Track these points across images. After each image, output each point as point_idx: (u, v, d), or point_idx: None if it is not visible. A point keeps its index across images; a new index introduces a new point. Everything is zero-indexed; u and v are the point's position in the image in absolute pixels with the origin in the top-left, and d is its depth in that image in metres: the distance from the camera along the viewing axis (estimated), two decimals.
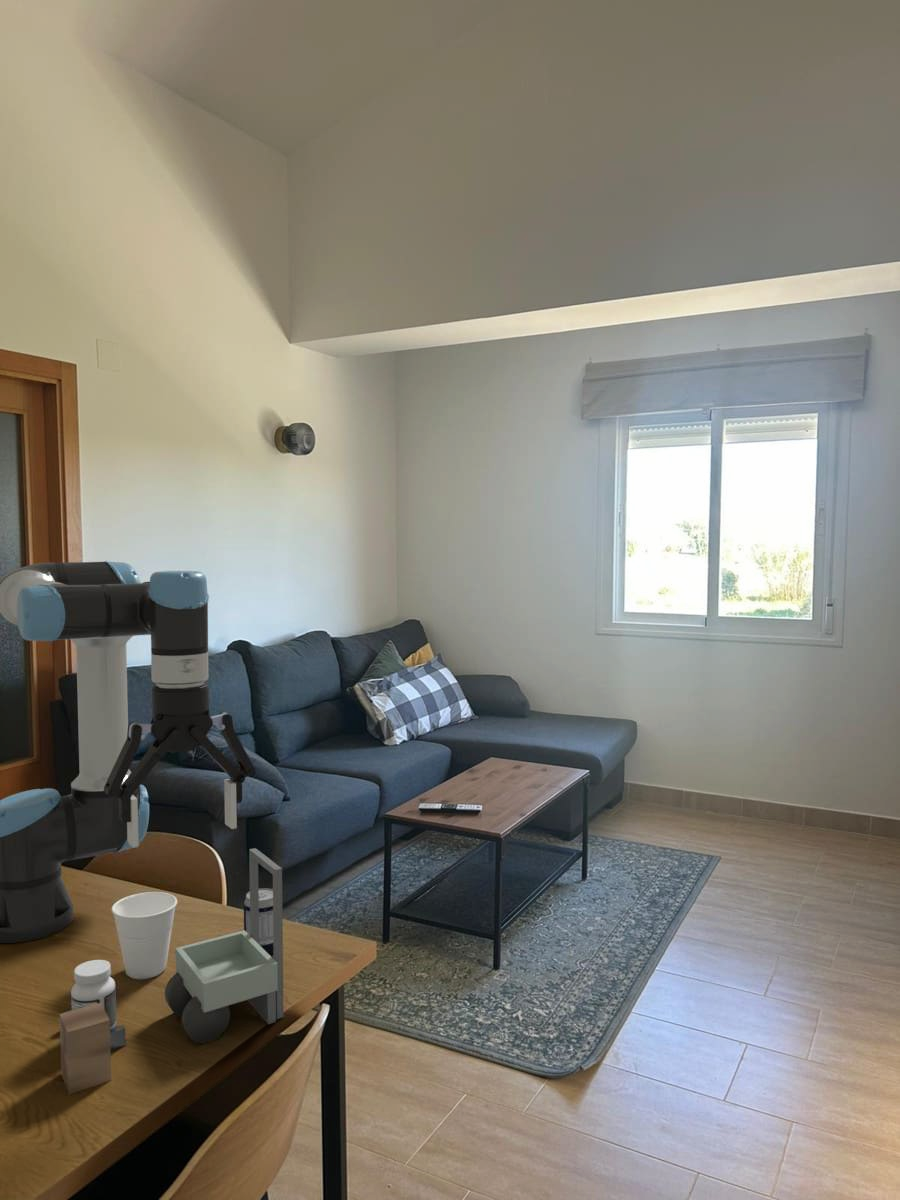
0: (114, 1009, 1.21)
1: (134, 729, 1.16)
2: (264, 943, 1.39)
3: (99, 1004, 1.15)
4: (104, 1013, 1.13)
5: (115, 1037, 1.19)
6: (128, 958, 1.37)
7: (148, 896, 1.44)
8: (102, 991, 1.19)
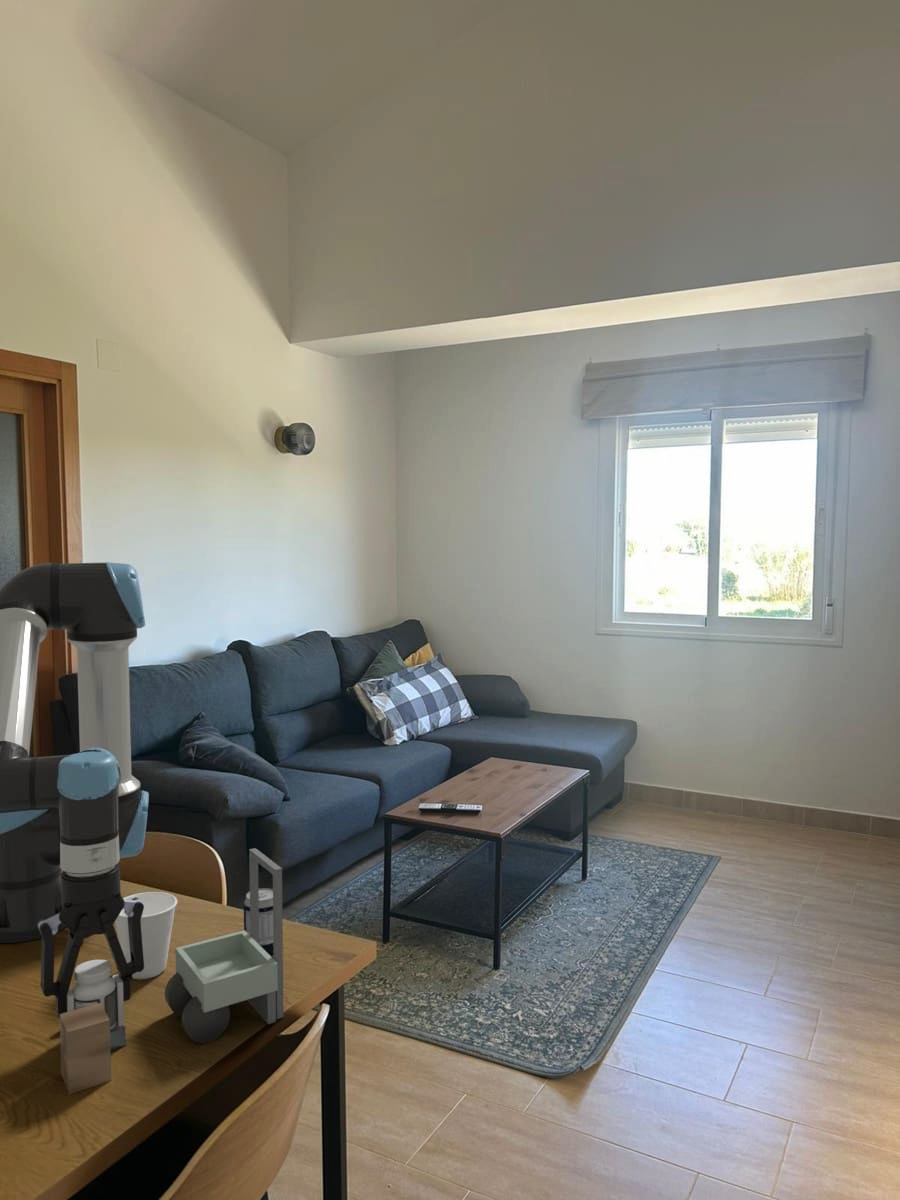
0: (114, 1009, 1.21)
1: (42, 930, 1.16)
2: (264, 943, 1.39)
3: (99, 1004, 1.15)
4: (104, 1013, 1.13)
5: (115, 1037, 1.19)
6: (128, 958, 1.37)
7: (148, 896, 1.44)
8: (103, 991, 1.19)
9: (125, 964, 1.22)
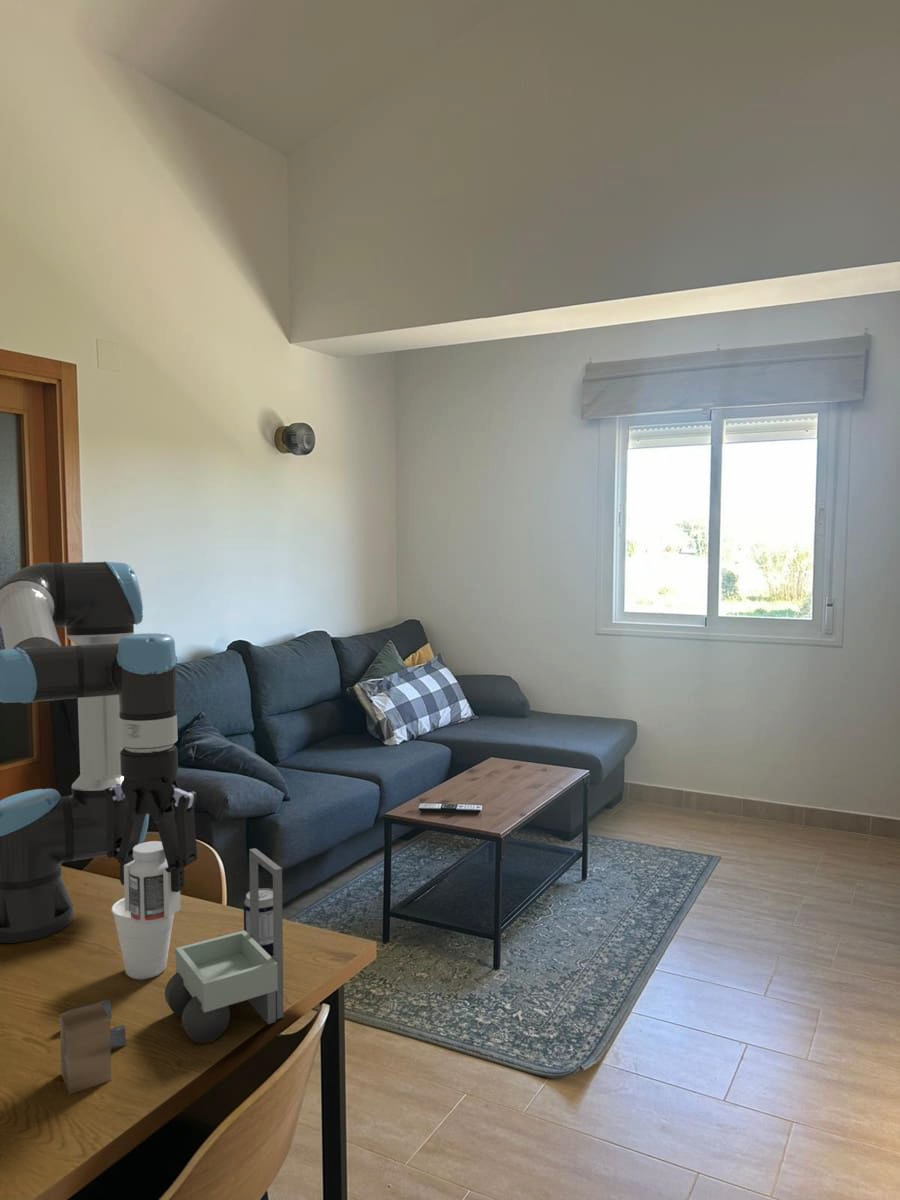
0: (159, 895, 1.20)
1: None
2: (264, 943, 1.39)
3: (99, 1004, 1.15)
4: (104, 1013, 1.13)
5: (115, 1037, 1.19)
6: (128, 958, 1.37)
7: None
8: (143, 871, 1.19)
9: (170, 853, 1.19)
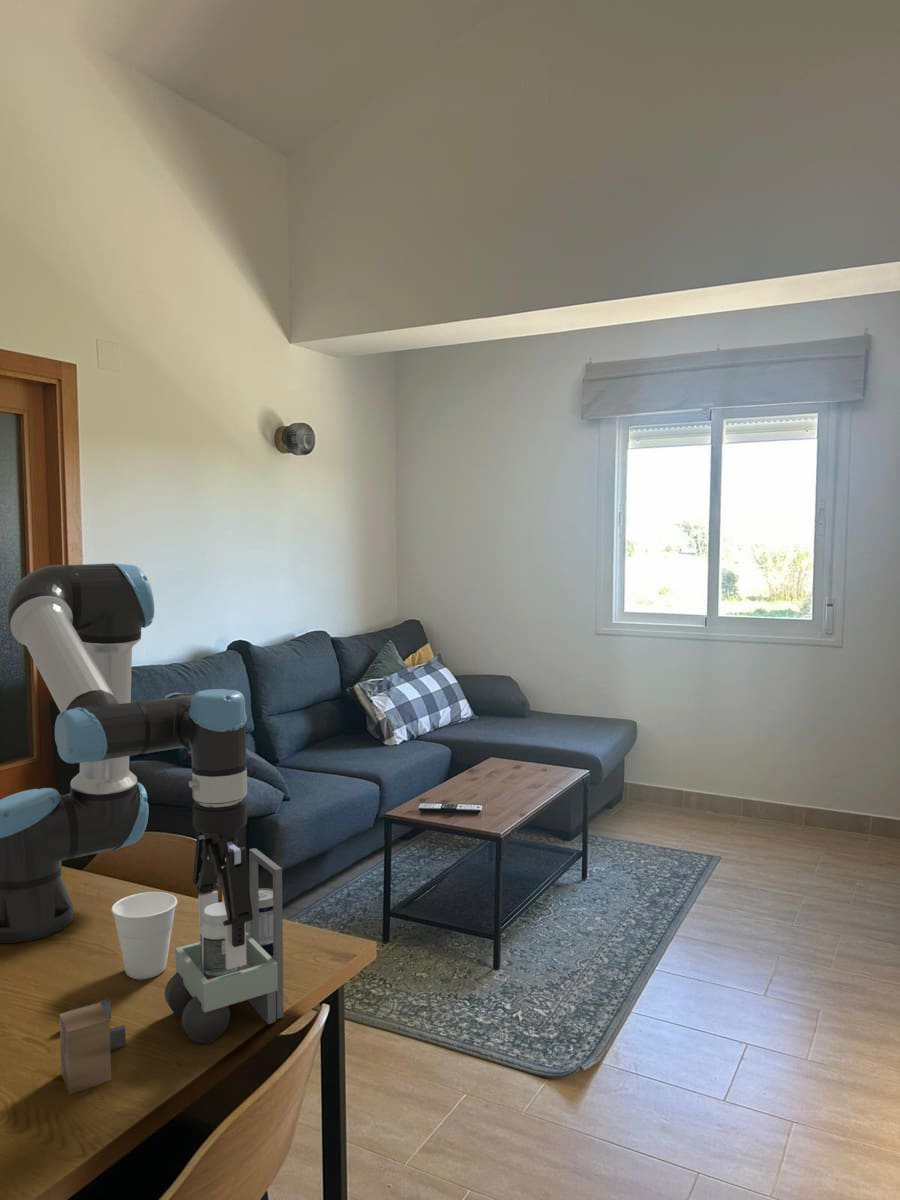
0: (215, 958, 1.23)
1: None
2: (264, 943, 1.39)
3: (99, 1004, 1.15)
4: (104, 1013, 1.13)
5: (115, 1037, 1.19)
6: (128, 958, 1.37)
7: (148, 896, 1.44)
8: (204, 931, 1.24)
9: (227, 907, 1.20)
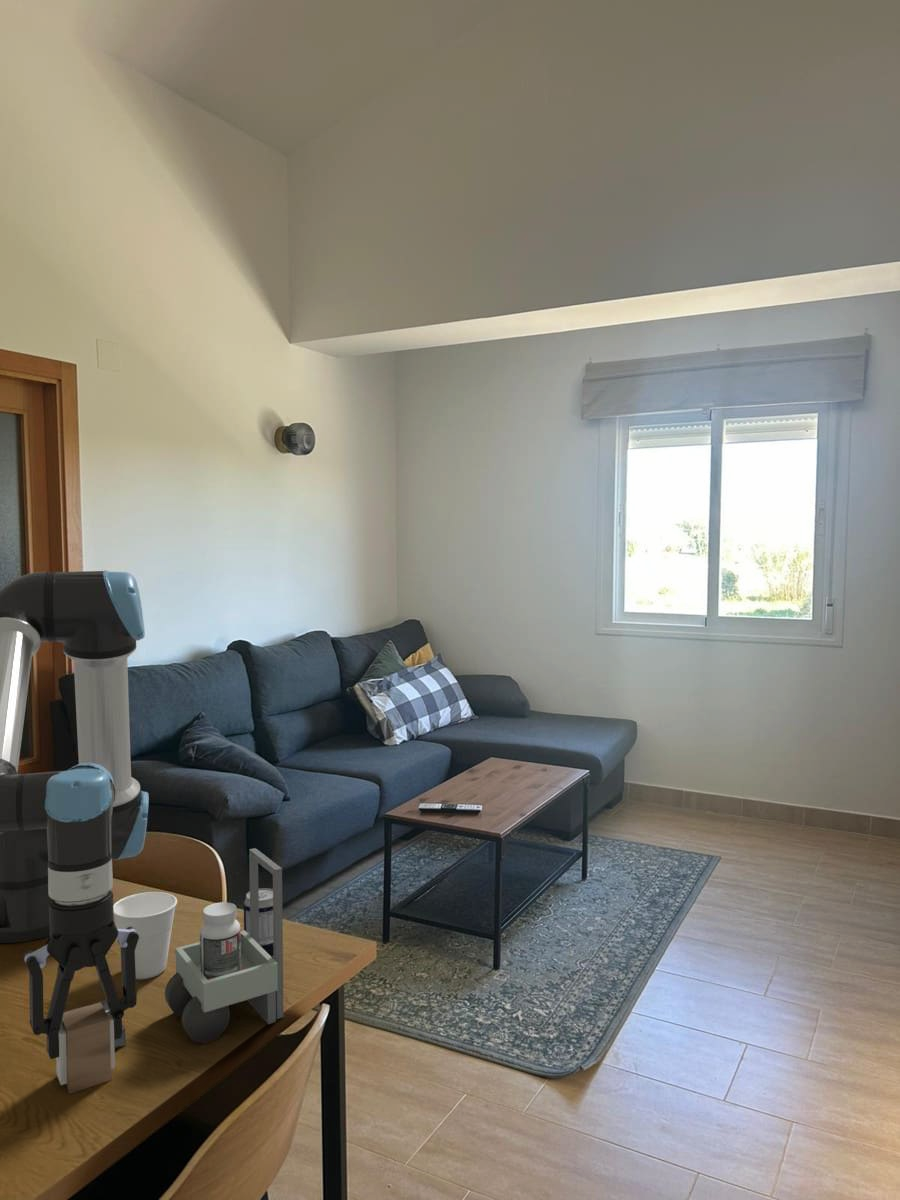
0: (215, 958, 1.23)
1: (29, 964, 1.07)
2: (264, 943, 1.39)
3: (99, 1004, 1.15)
4: (104, 1013, 1.13)
5: None
6: None
7: (148, 896, 1.44)
8: (203, 932, 1.24)
9: (116, 1000, 1.13)
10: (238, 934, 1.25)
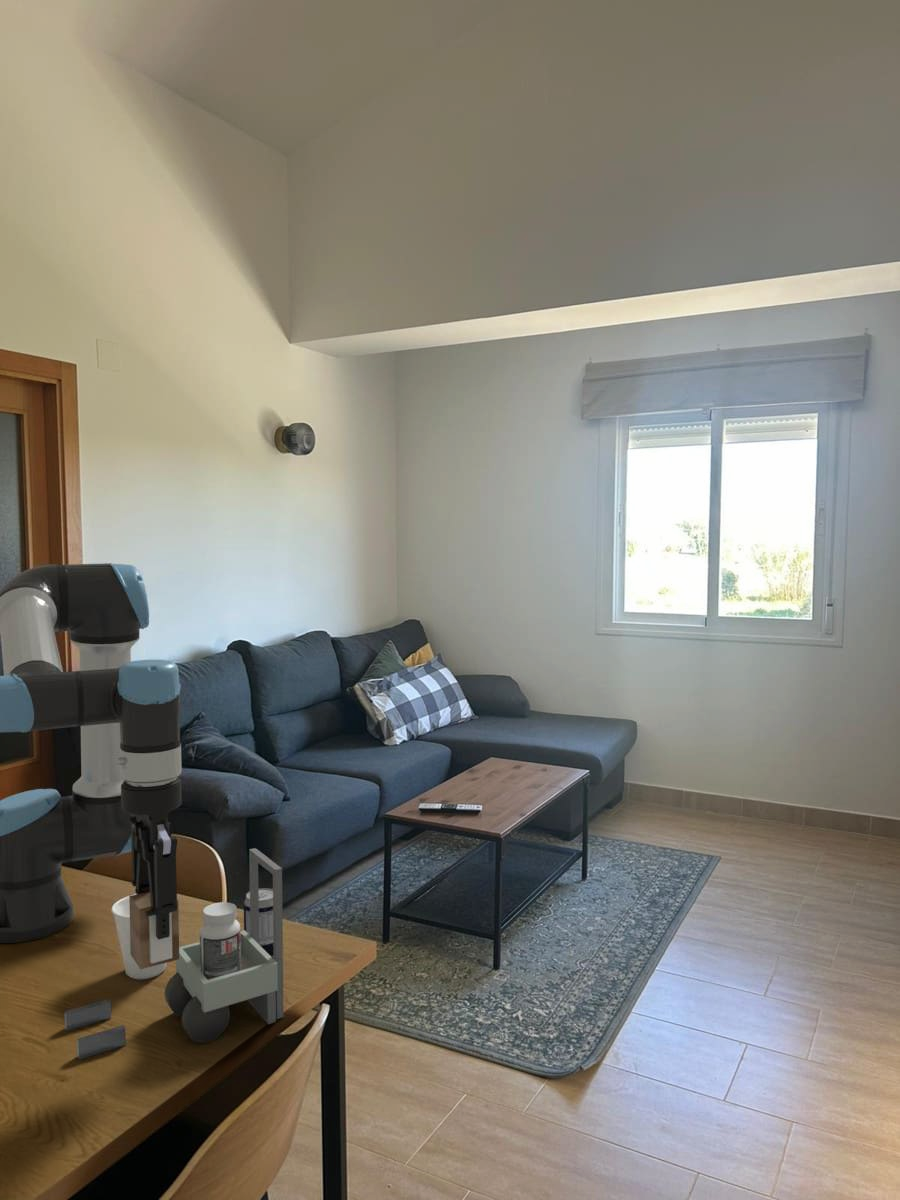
0: (214, 958, 1.23)
1: None
2: (264, 943, 1.39)
3: None
4: None
5: (115, 1037, 1.19)
6: (128, 958, 1.37)
7: None
8: (203, 932, 1.24)
9: (152, 897, 1.12)
10: (238, 934, 1.25)
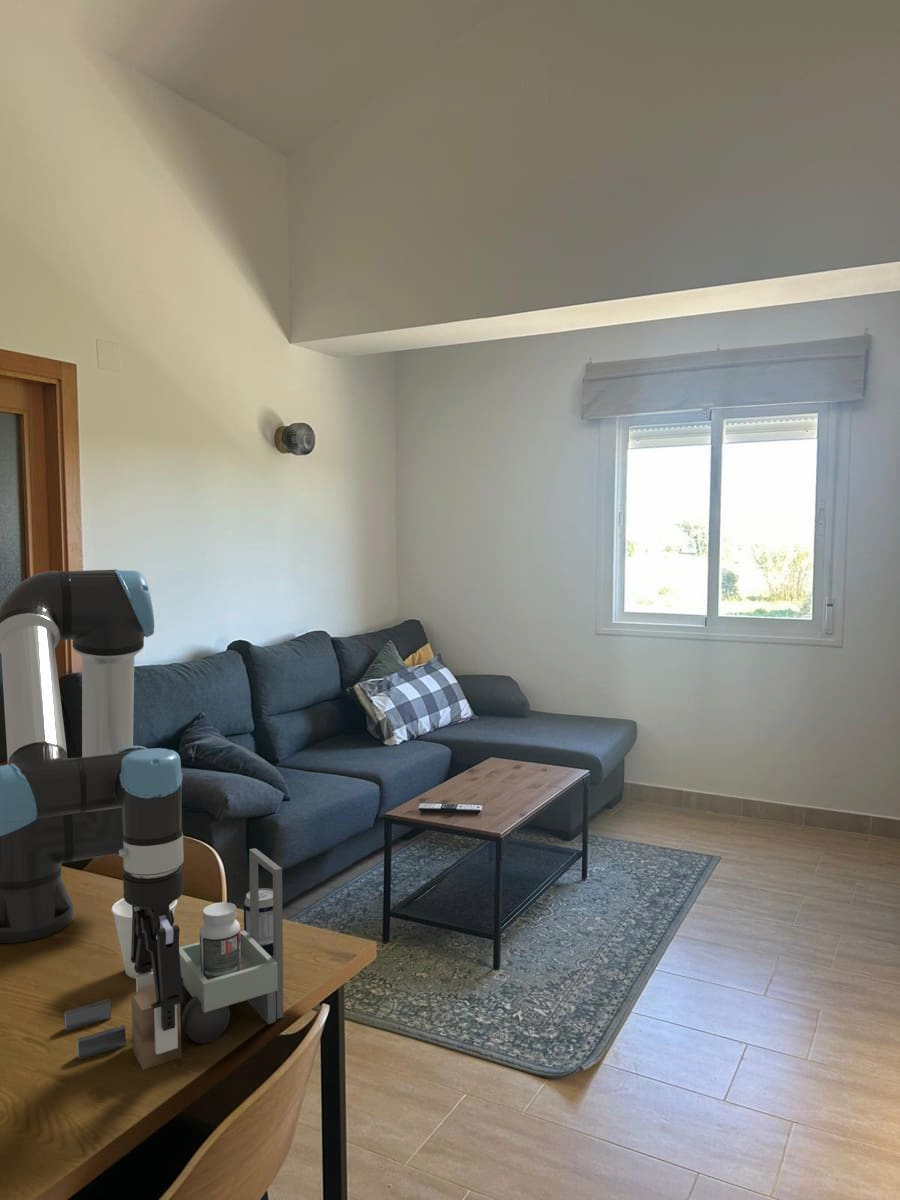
0: (214, 958, 1.23)
1: None
2: (264, 943, 1.39)
3: None
4: None
5: (115, 1037, 1.19)
6: (128, 958, 1.37)
7: None
8: (203, 932, 1.24)
9: (157, 988, 1.12)
10: (238, 934, 1.25)
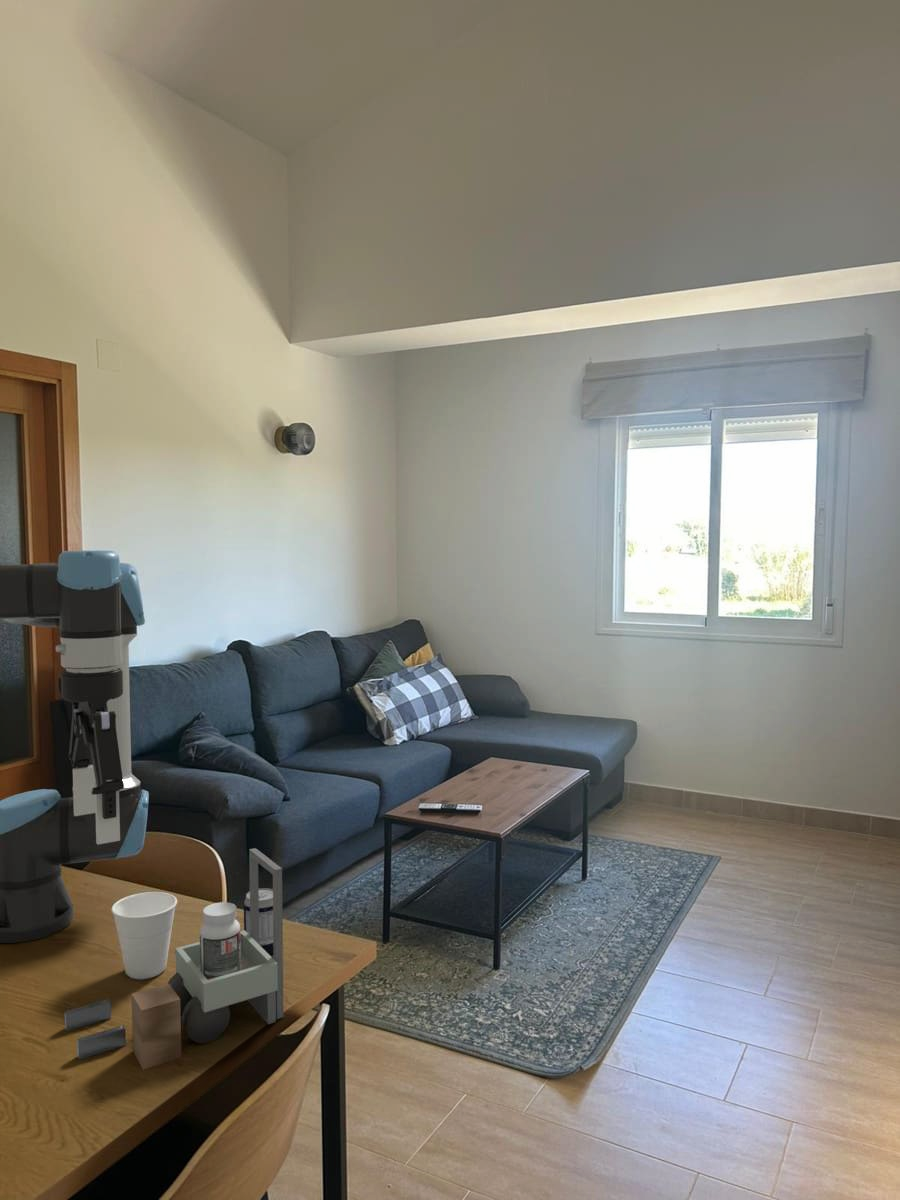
0: (214, 958, 1.23)
1: (72, 702, 1.20)
2: (264, 943, 1.39)
3: (176, 999, 1.16)
4: (156, 1005, 1.15)
5: (115, 1037, 1.19)
6: (128, 958, 1.37)
7: (148, 896, 1.44)
8: (203, 932, 1.24)
9: (97, 775, 1.09)
10: (238, 934, 1.25)
